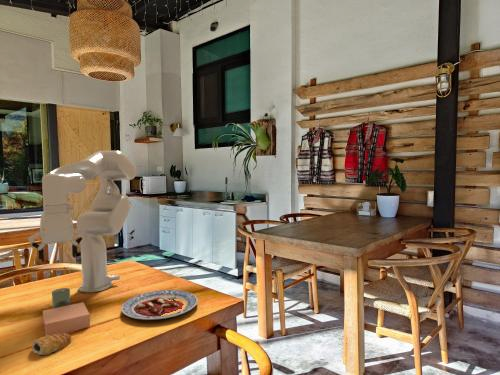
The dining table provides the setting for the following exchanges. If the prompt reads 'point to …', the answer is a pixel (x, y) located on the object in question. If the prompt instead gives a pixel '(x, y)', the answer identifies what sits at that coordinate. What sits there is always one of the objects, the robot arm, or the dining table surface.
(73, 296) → the dining table surface
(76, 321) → the terracotta stand
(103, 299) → the dining table surface
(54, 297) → the tea tin
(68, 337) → the pastry
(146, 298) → the ceramic plate
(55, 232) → the robot arm
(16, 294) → the dining table surface
